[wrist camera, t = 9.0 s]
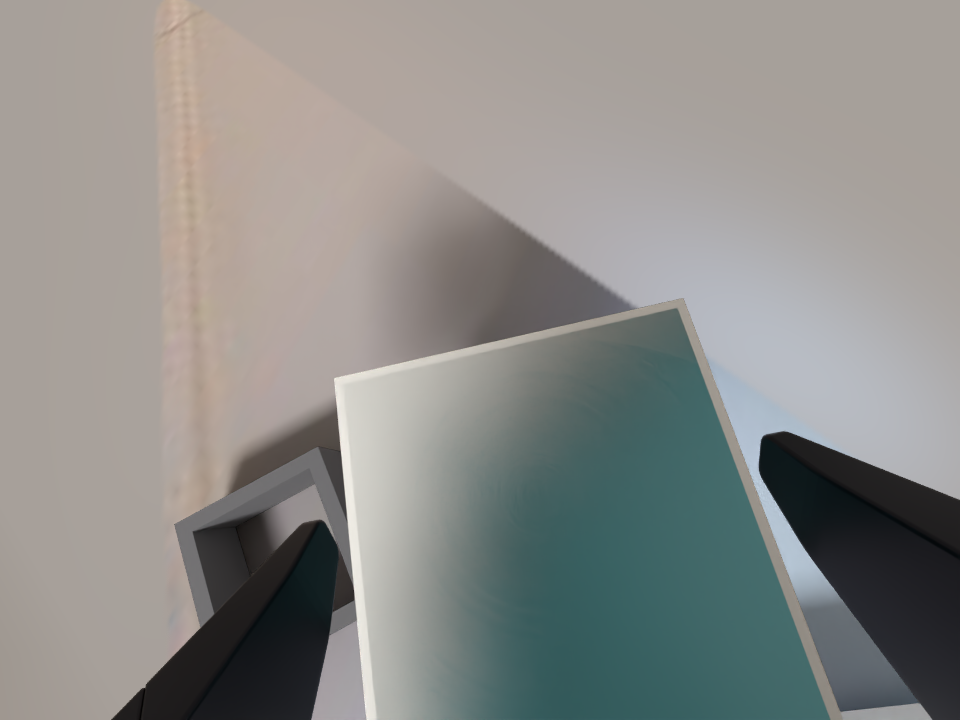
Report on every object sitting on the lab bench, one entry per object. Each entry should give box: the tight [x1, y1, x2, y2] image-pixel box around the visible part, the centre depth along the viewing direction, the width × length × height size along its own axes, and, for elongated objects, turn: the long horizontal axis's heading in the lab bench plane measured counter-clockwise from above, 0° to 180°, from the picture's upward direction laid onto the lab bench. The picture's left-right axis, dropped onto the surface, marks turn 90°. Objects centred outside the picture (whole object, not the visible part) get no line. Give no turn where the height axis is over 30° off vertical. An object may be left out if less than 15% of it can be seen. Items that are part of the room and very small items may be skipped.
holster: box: [174, 447, 357, 635], centre depth 17 cm, size 6×6×2 cm
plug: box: [334, 298, 843, 720], centre depth 11 cm, size 4×4×13 cm
